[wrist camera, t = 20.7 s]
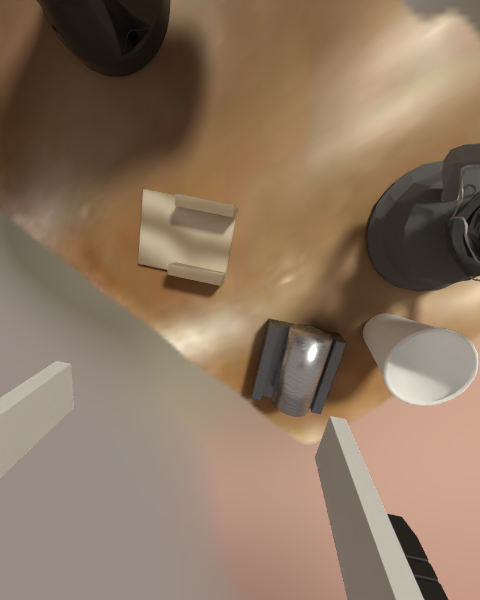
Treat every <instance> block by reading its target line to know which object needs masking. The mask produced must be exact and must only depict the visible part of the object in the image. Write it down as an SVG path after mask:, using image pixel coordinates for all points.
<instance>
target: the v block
mask: <svg viewBox="0 0 480 600" xmlns="http://www.w3.org/2000/svg"><path fill="white" fill-rule="evenodd" d="M292 325H295V324H292V323H287V322H283V321H278V320H274V319H269V320H268V324H267V328H266V332H265V336H264V340H263V344H262V348H261V352H260V356H259V360H258V364H257V368H256V372H255V376H254V380H253V384H252V397H251V398H252V399H256V400H261V396H264V397H269V398H271V395H272V391H273V388H274V384H275V381H276V377H277V373H278V370H279V366H280V363H281V359H282V355H283V352H284V348H285V345H286V341H287V337H288V334H289V330H290V327H291V326H292ZM322 331H324V330H322ZM324 332H326V333H327V334H328V335H330V336H331V337H332V339H333V341H332V344H331V347H330V350H329V353H328V356H327V359H326V362H325V365H324V368H323V371H322V374H321V377H320V380H319V382H318V385H317V388H316V391H315V394H314V397H313V400H312V403H311V406H310V409H311V412H312V413H317V414H321V412H322V409H323V406H324V404H325V401H326V398H327V395H328V393H329V390H330V387H331V384H332V382H333V379H334V376H335V373H336V371H337V368H338V365H339V362H340V360H341V357H342V354H343V351H344V349H345V346H346V342H345V341H344V340H343V338H342V337H341V336H340V335H339V334H338V333H333V332H328V331H324Z"/></svg>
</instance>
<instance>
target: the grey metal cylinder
mask: <svg viewBox="0 0 480 600" xmlns="http://www.w3.org/2000/svg"><path fill="white" fill-rule="evenodd" d="M332 341H333V339H332V337H331V336H330V335H328V334H327V333H326V332H324V331H322V330H320V329H317V328H314V327H311V326H307V325H301V324H295V325H292V326H291V327H290V330H289V334H288V337H287V341H286V345H285V348H284V352H283V355H282V359H281V363H280V366H279V370H278V373H277V377H276V381H275V384H274V388H273V391H272V395H271V400H272V402H273V404H274V405H275V407H276V408H277V409H279V410H280V411H281V412H283V413H285V414H287V415H290V416H294V417H302V416H305V415H306V414H307V413H308V412H309V409H310V406H311V403H312V400H313V397H314V394H315V391H316V388H317V385H318V382H319V380H320V377H321V374H322V371H323V368H324V365H325V362H326V359H327V356H328V353H329V350H330V347H331V344H332Z"/></svg>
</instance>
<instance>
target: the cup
mask: <svg viewBox="0 0 480 600" xmlns="http://www.w3.org/2000/svg"><path fill="white" fill-rule="evenodd" d="M363 339H364V341H365V343H366V345H367V347H368V348H369V350H370V352H371V354H372V356H373V358H374V360H375V362H376V364H377V366H378V367H379V369H380V371H381V373H382V375H383V379H384V382H385V385H386V386H387V388H388V390H389V391H390V392H391V393H392V394H393V395H394V396H395V397H396V398H398V399H400V400H401V401H404V402H406V403H409V404H413V405H418V406H430V405H436V404H440V403H444V402H446V401H449V400H451V399H453V398H455V397H457V396H458V395H459V394H461V393H462V392H463V391H464V390H466V389H467V387H468V386H469V385H470V384H471V383H472V381H473V379H474V378H475V376H476V373H477V370H478V364H479V359H478V353H477V351H476V349H475V346H474V345H473V344H472V342H471V341H470V340H469V339H468V338H467V337H465V336H464V335H463V334H461V333H459V332H456V331H454V330H450V329H446V328H437V327H434V326H430V325H427V324H423V323H420V322H416V321H413V320H410V319H406V318H403V317H400V316H397V315H393V314H389V313H384V314H379V315H376V316H374V317H372V318H371V319H370V320H369V321H368V322H367V323H366V324H365V326H364V329H363Z"/></svg>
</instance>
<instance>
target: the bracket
mask: <svg viewBox="0 0 480 600" xmlns="http://www.w3.org/2000/svg"><path fill="white" fill-rule="evenodd" d="M237 210H238V208H237V207H236V206H234V205H229V204H224V203H219V202H214V201H209V200H205V199H200V198H195V197H190V196H185V195H180V194H176V196H175V195H170V194H165V193H160V192H155V191H150V190H145V189H143V202H142V216H141V230H140V244H139V258H138V264H142V265H147V266H152V267H156V268H161V269H166V270H168V271H167V275H172V276H177V277H181V278H186V279H191V280H195V281H200V282H204V283H209V284H214V285H218V286H221V285H222V284H223V283H224V281H225V276H226V270H227V265H228V259H229V254H230V248H231V243H232V237H233V232H234V226H235V221H236V215H237Z"/></svg>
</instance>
